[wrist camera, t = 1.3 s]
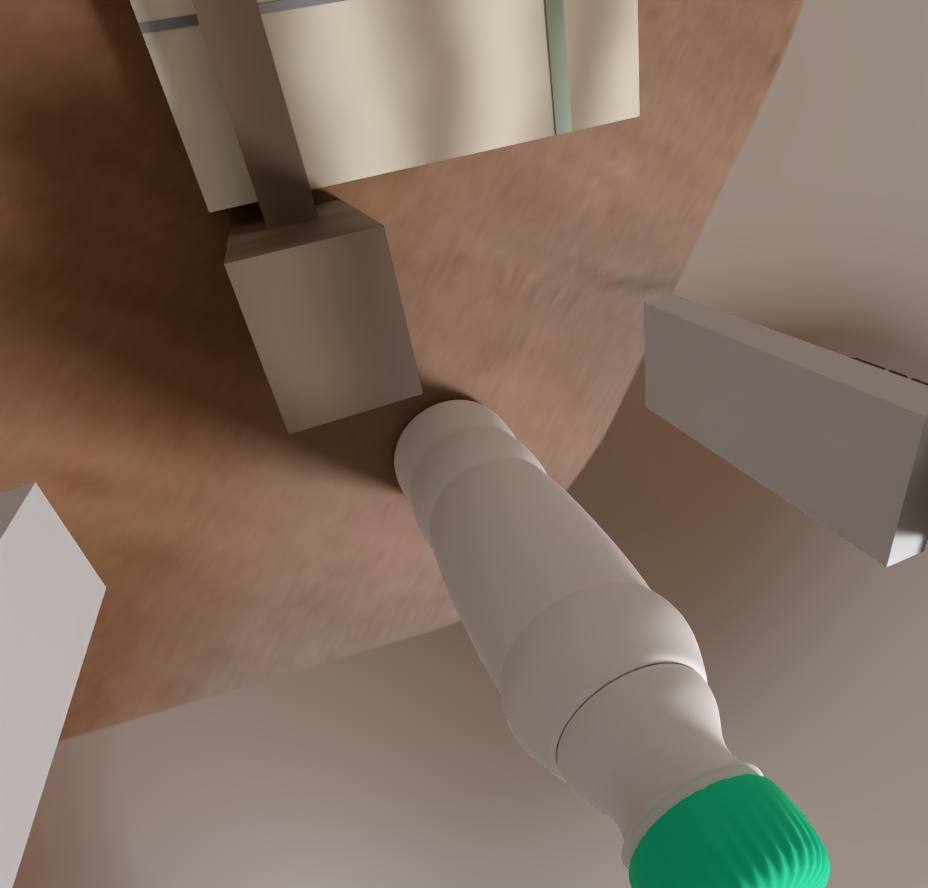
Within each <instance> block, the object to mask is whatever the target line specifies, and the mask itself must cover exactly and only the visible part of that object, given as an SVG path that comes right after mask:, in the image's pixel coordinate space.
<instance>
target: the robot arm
mask: <svg viewBox="0 0 928 888" xmlns="http://www.w3.org/2000/svg"><path fill="white" fill-rule="evenodd" d="M644 327H645V380H646V381H645V382H646V383H645V386H646V407H647V408H648V409H650V410H651V411H653V412H654V413H656V414H657V415H659V416H660V417H662V418H663V419H665V420H666V421H668V422H669V423H671V424H672V425H674V426H675V427H677V428H678V429H680V430H681V431H683V432H684V433H686V434H687V435H689V436H690V437H692V438H693V439H695V440H696V441H698V442H699V443H701V444H702V445H704V446H705V447H707V448H708V449H710V450H711V451H713V452H714V453H716V454H717V455H719V456H720V457H722V458H723V459H725V460H726V461H728V462H729V463H731V464H732V465H734V466H735V467H737V468H738V469H740V470H741V471H743V472H744V473H746V474H747V475H749V476H750V477H752V478H753V479H755V480H756V481H758V482H759V483H761V484H762V485H764V486H765V487H767V488H768V489H770V490H771V491H773V492H775V493H776V494H777V495H779V496H780V497H782V498H784V499H785V500H786V501H788V502H789V503H791V504H792V505H794V506H795V507H797V508H798V509H800V510H801V511H803V512H804V513H806V514H807V515H809V516H810V517H812V518H813V519H815V520H816V521H818V522H819V523H821V524H822V525H824V526H825V527H827V528H829V529H830V530H831V531H833V532H834V533H836V534H837V535H839V536H840V537H842V538H844V539H845V540H846V541H848V542H849V543H851V544H852V545H854V546H855V547H857V548H858V549H860V550H861V551H863V552H865V553H866V554H867V555H869V556H870V557H872V558H873V559H875V560H876V561H878V562H879V563H881V564H882V565H884V566H885V567H888V566H890V565H893V564H895V563H897V562H900V561H902V560H904V559H907V558H909V557H911V556H913V555H916V554H918V553H920V552H923V551H924V549H925V546H926V542H927V539H928V383H925V382H922V381H919V380H917V379H914V378H912V379H908V378H907V376H906V375H903V374H900V373H897V372H894V371H891V370H889V371H886V370H885V368H883V367H880V366H878V365H875V364H872V363H869V362H866V361H864V360H861V359H858V358H851V357H846V356H844V355H841V354H838V353H835V352H833V351H830V350H827V349H824V348H821V347H819V346H816V345H813V344H810V343H808V342H805V341H802V340H799V339H796V338H793V337H791V336H788V335H785V334H782V333H780V332H777V331H774V330H771V329H768V328H766V327H763V326H760V325H757V324H755V323H752V322H749V321H746V320H743V319H741V318H738V317H735V316H732V315H730V314H727V313H724V312H721V311H719V310H716V309H713V308H710V307H707V306H704V305H702V304H699V303H696V302H693V301H690V300H688V299H685V298H682V297H679V296H677V295H674V294H671V295H668V296H664V297H661V298H658V299H654V300H651V301H647V302H644ZM105 590H106V587H105V585H104V584H103V582H102V581H101V579H100V578H99V576H98V575H97V573H96V572H95V570H94V569H93V567H92V566H91V564H90V563H89V561H88V560H87V558H86V557H85V555H84V554H83V552H82V551H81V549H80V548H79V546H78V545H77V543H76V542H75V540H74V539H73V537H72V536H71V534H70V533H69V531H68V530H67V529H66V527H65V526H64V524H63V523H62V521H61V520H60V518H59V517H58V515H57V514H56V512H55V511H54V509H53V508H52V506H51V505H50V503H49V502H48V500H47V499H46V497H45V496H44V494H43V493H42V491H41V490H40V488H39V487H38V485H37V484H36V482H35V483H31V484H28V485H24V486H21V487H18V488H14V489H11V490H8V491H4V492H1V493H0V888H12V887H13V884H14V880H15V877H16V874H17V871H18V868H19V864H20V862H21V858H22V855H23V852H24V849H25V845H26V842H27V839H28V835H29V833H30V830H31V826H32V823H33V820H34V817H35V814H36V810H37V807H38V804H39V801H40V798H41V794H42V791H43V788H44V785H45V782H46V778H47V775H48V772H49V769H50V766H51V762H52V759H53V756H54V752H55V750H56V746H57V743H58V740H59V737H60V734H61V730H62V727H63V724H64V721H65V718H66V714H67V711H68V708H69V705H70V702H71V698H72V695H73V692H74V689H75V686H76V682H77V679H78V676H79V673H80V670H81V667H82V663H83V660H84V657H85V654H86V651H87V647H88V644H89V641H90V638H91V635H92V631H93V628H94V625H95V622H96V619H97V615H98V612H99V609H100V606H101V603H102V599H103V596H104V593H105Z"/></svg>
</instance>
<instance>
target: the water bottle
mask: <svg viewBox="0 0 928 888" xmlns="http://www.w3.org/2000/svg"><path fill="white" fill-rule="evenodd" d="M394 467H395V473H396V477H397V480H398V482H399V485H400V487H401V489H402V491H403V493H404V495H405V497H406V499H407V500H408V502H409V503H410V505H411V506H412V508H413V511H414V515H415V518H416V521H417V523H418V525H419V528H420V530H421V532H422V534H423V536H424V537H425V539H426V541H427V542H428V544H429V545H430V546H431V548H432V549H433V550H434V553H435V556H436V559H437V562H438V565H439V568H440V571H441V574H442V576H443V579H444V581H445V584H446V586H447V589H448V591H449V593H450V596H451V598H452V600H453V603H454V605H455V607H456V609H457V612H458V614H459V616H460V618H461V620H462V622H463V624H464V627H465V629H466V631H467V633H468V635H469V637H470V639H471V641H472V643H473V645H474V647H475V649H476V651H477V653H478V655H479V657H480V659H481V661H482V662H483V664H484V666H485V668H486V669H487V671H488V673H489V675H490V676H491V678H492V680H493V681H494V683H495V685H496V686H497V688H498V690H499V691H500V697H501V704H502V708H503V712H504V715H505V717H506V720H507V723H508V725H509V727H510V729H511V731H512V733H513V735H514V736H515V738H516V739H517V741H518V742H519V744H520V745H521V746H522V747H523V749H524V750H525V751H526V752H527V753H528V754H529V755H530V756H531V757H532V758H533V759H535V760H536V761H537V762H538V763H539V764H541V765H542V766H543V767H545V768H546V769H547V770H549V771H550V772H551V773H552V774H554V775H555V776H556V777H558V778H559V779H561V780H563V781H565V782H566V783H567V785H568V786H569V787H570V788H571V790H572V791H573V792H574V793H575V794H576V795H577V796H578V797H579V798H581V799H582V800H583V801H585V802H586V803H588V804H589V805H591V806H593V807H594V808H596V809H598V810H600V811H601V812H603V813H605V814H606V815H608V816H609V817H610V818H612V819H613V820H614V822H615V823H616V824H617V825H618V827H619V829H620V831H621V833H622V835H623V839H624V843H623V848H622V862H623V864H624V865H625V866H626V867H627V868H628V869H629V880H630V883H631V887H632V888H825V886H826V884H827V881H828V878H829V875H830V868H831V867H830V863H829V858H828V854H827V851H826V848H825V846H824V845H823V843H822V841H821V840H820V838H819V836H818V835H817V833H816V831H815V830H814V828H813V827H812V826H811V824H810V823H809V822H808V820H807V819H806V817H805V816H804V815H803V814H802V812H801V811H800V810H799V809H798V808H797V807H796V805H795V804H794V803H793V802H792V801H791V800H790V798H789V797H788V796H787V795H786V794H785V793H784V792H783V791H782V790H781V789H780V788H779V787H778V786H777V785H776V784H775V783H773V782H772V781H771V780H769V779H767V778H766V777H764V776H763V774H762V773H761V771H760V770H759V768H757V767H756V766H755V765H753V764H751V763H747V762H743V761H738V760H737V759H736V758H735V757H734V756H733V755H732V754H731V753H730V752H729V750H728V749H727V747H726V745H725V743H724V741H723V737H722V732H721V724H720V718H719V711H718V707H717V704H716V700H715V698H714V696H713V693H712V692H711V690H710V688H709V686H708V685H707V677H706V672H705V668H704V664H703V661H702V657H701V653H700V650H699V647H698V644H697V641H696V639H695V636H694V634H693V632H692V630H691V628H690V627H689V625H688V623H687V622H686V621H685V619H684V618H683V616H682V615H681V614H680V613H679V612H678V610H677V609H675V607H674V606H673V605H672V604H670V603H669V602H668V601H667V600H666V599H664V598H663V597H662V596H660V595H659V594H657V593H655V592H653V591H652V590H650V588H649V587H648V585H647V584H646V583H645V581H644V580H643V579H642V577H641V576H640V575H639V573H638V572H637V570H636V569H635V568H634V567H633V565H632V564H631V563H630V562H629V560H628V559H627V558H626V557H625V555H624V554H623V553H622V552H621V551H620V549H619V548H618V547H617V546H616V545H615V543H614V542H613V541H612V540H611V539H610V538H609V537H608V535H607V534H606V533H605V532H604V531H603V530H602V529H601V528H600V527H599V526H598V524H597V523H596V522H595V521H594V520H593V519H592V518H591V517H590V516H589V515H588V514H587V513H586V511H585V510H584V509H583V508H582V507H581V506H580V505H579V504H578V503H577V502H576V501H575V500H574V499H573V498H572V497H571V496H570V495H569V494H568V493H567V492H566V491H565V490H564V489H563V488H562V487H561V486H560V485H558V484H557V483H556V482H555V481H554V480H553V479H552V478H550V477H549V476H548V475H547V474H546V472H545V470H544V468H543V467H542V465H541V464H540V462H539V461H538V460H537V458H536V457H535V456H534V455H533V454H532V453H531V452H530V451H529V450H528V449H527V448H526V447H525V446H524V445H523V444H522V443H521V442H519V441H518V440H517V439H516V438H515V436H514V434H513V433H512V432H511V430H510V429H509V428H508V426H507V425H506V424H505V423H504V422H503V421H502V419H501V418H500V417H499V416H498V415H497V414H496V413H494V412H493V411H492V410H491V409H489V408H488V407H486V406H484V405H482V404H479V403H477V402H474V401H468V400H450V401H445V402H441V403H438V404H435V405H433V406H431V407H429V408H427V409H425V410H424V411H422V412H421V413H420V414H418V415H417V416H416V417H415V418H414V419H413V420H412V421H411V422H410V423H409V424H408V425H407V426H406V428H405V429H404V431H403V432H402V434H401V436H400V438H399V440H398V443H397V446H396V450H395V455H394Z"/></svg>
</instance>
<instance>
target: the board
mask: <svg viewBox="0 0 928 888" xmlns="http://www.w3.org/2000/svg"><path fill="white" fill-rule="evenodd" d="M130 3H131V5H132V8H133V11H134V13H135V16H136V19H137V21H138V24H139V27H140V30H141V32H142V35H143V37H144V40H145V43H146V45H147V48H148V51H149V53H150V56H151V59H152V61H153V64H154V67H155V69H156V72H157V75H158V77H159V80H160V83H161V85H162V88H163V91H164V93H165V96H166V99H167V101H168V104H169V107H170V109H171V112H172V114H173V117H174V120H175V122H176V125H177V128H178V130H179V133H180V136H181V138H182V141H183V144H184V146H185V149H186V152H187V154H188V157H189V160H190V162H191V165H192V168H193V170H194V173H195V176H196V178H197V181H198V184H199V186H200V189H201V192H202V194H203V197H204V200H205V202H206V205H207V208H208V210H209V213H210V212H214V211H219V210H223V209H228V208H232V207H236V206H241V205H245V204H250V203H254V202H258V199H257V196H256V193H255V190H254V187H253V184H252V181H251V178H250V175H249V172H248V169H247V166H246V163H245V160H244V157H243V154H242V151H241V148H240V145H239V142H238V139H237V136H236V133H235V130H234V127H233V124H232V121H231V118H230V115H229V112H228V109H227V106H226V103H225V100H224V97H223V94H222V91H221V88H220V85H219V82H218V79H217V76H216V73H215V70H214V67H213V64H212V61H211V58H210V55H209V52H208V49H207V46H206V43H205V40H204V37H203V34H202V31H201V28H200V25H199V22H198V19H197V16H196V13H195V10H194V6H193V3H192V0H130ZM257 3H258V7H259V10H260V14H261V17H262V21H263V24H264V28H265V31H266V35H267V38H268V42H269V45H270V49H271V52H272V56H273V59H274V63H275V66H276V70H277V73H278V77H279V80H280V84H281V87H282V91H283V94H284V98H285V101H286V105H287V108H288V112H289V115H290V119H291V122H292V126H293V129H294V133H295V136H296V140H297V143H298V147H299V150H300V154H301V157H302V161H303V164H304V168H305V171H306V175H307V178H308V182H309V185H310V189H311V190H312V189H317V188H321V187H326V186H330V185H335V184H339V183H344V182H348V181H353V180H357V179H361V178H366V177H370V176H375V175H379V174H384V173H388V172H393V171H397V170H402V169H406V168H411V167H415V166H420V165H424V164H428V163H433V162H437V161H442V160H446V159H451V158H455V157H460V156H464V155H469V154H473V153H478V152H482V151H486V150H491V149H495V148H500V147H504V146H509V145H513V144H518V143H522V142H527V141H531V140H536V139H540V138H545V137H549V136H553V135H559V134H563V133H568V132H572V131H576V130H580V129H585V128H589V127H594V126H598V125H603V124H607V123H611V122H616V121H620V120H625V119H629V118H634V117H638V116H639V57H638V0H257Z"/></svg>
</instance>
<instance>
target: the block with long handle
mask: <svg viewBox="0 0 928 888" xmlns="http://www.w3.org/2000/svg"><path fill="white" fill-rule="evenodd" d="M192 3H193V6H194V10H195V13H196V16H197V19H198V22H199V25H200V28H201V31H202V34H203V37H204V40H205V43H206V46H207V49H208V52H209V55H210V58H211V61H212V64H213V67H214V70H215V73H216V76H217V79H218V82H219V85H220V88H221V91H222V94H223V97H224V100H225V103H226V106H227V109H228V112H229V115H230V118H231V121H232V124H233V127H234V130H235V133H236V136H237V139H238V142H239V145H240V148H241V151H242V154H243V157H244V160H245V163H246V166H247V169H248V172H249V175H250V178H251V181H252V184H253V187H254V190H255V193H256V196H257V199H258V203H259V206H260V209H261V212H262V215H263V217H259V218H254V219H250V220H246V221H241V222H237V223H233V224H230V228H229V235H228V241H227V247H226V254H225V260H224V266H225V268H226V271H227V274H228V276H229V279H230V282H231V284H232V287H233V289H234V292H235V295H236V297H237V300H238V303H239V305H240V308H241V311H242V313H243V316H244V318H245V321H246V324H247V326H248V329H249V332H250V334H251V337H252V340H253V342H254V345H255V347H256V350H257V353H258V355H259V358H260V361H261V363H262V366H263V369H264V371H265V374H266V376H267V379H268V382H269V384H270V387H271V390H272V392H273V395H274V398H275V400H276V403H277V405H278V408H279V411H280V413H281V416H282V419H283V421H284V424H285V427H286V429H287V432H288V434H289V435H290V434H293V433H296V432H300V431H303V430H306V429H309V428H313V427H316V426H319V425H323V424H326V423H329V422H332V421H336V420H339V419H342V418H345V417H349V416H352V415H355V414H359V413H362V412H365V411H368V410H372V409H375V408H378V407H381V406H385V405H388V404H391V403H395V402H398V401H401V400H404V399H408V398H411V397H414V396H418V395H421V394H423V392H422V388H421V384H420V379H419V375H418V371H417V366H416V362H415V358H414V354H413V349H412V345H411V341H410V336H409V332H408V328H407V323H406V319H405V315H404V311H403V306H402V302H401V298H400V293H399V289H398V285H397V281H396V276H395V272H394V268H393V263H392V259H391V255H390V250H389V246H388V242H387V238H386V233H385V229H384V225H382V224H380V223H379V222H377V221H375V220H374V219H372V218H370V217H369V216H367V215H365V214H364V213H362V212H360V211H359V210H357V209H355V208H354V207H352V206H350V205H349V204H347V203H346V202H344V201H342V200H341V199H337V200H333V201H329V202H324V203H320V204H316V205H315V203H314V199H313V196H312V192H311V189H310V185H309V182H308V178H307V175H306V171H305V168H304V164H303V161H302V157H301V154H300V150H299V147H298V143H297V140H296V136H295V133H294V129H293V126H292V122H291V119H290V115H289V112H288V108H287V105H286V101H285V98H284V94H283V91H282V87H281V84H280V80H279V77H278V73H277V70H276V66H275V63H274V59H273V56H272V52H271V49H270V45H269V42H268V38H267V35H266V31H265V28H264V24H263V21H262V17H261V14H260V10H259V7H258V3H257V0H192Z"/></svg>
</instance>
